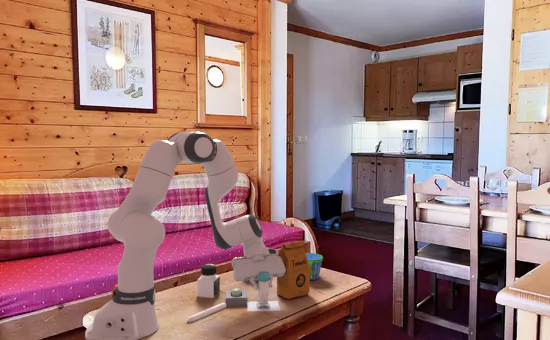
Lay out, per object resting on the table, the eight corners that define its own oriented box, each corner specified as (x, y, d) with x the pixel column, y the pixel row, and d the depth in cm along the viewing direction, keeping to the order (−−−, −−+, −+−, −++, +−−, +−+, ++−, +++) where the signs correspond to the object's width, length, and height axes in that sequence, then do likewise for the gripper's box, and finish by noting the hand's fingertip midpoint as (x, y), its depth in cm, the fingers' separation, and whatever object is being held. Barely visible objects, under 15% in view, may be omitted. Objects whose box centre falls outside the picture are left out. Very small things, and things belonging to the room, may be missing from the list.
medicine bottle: (214, 298, 165) (214, 268, 164) (196, 297, 166) (196, 267, 165) (220, 292, 172) (220, 263, 171) (203, 290, 173) (203, 262, 172)
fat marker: (258, 305, 156) (259, 275, 154) (257, 300, 160) (258, 271, 158) (268, 304, 156) (269, 275, 155) (267, 300, 160) (268, 271, 159)
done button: (231, 299, 160) (231, 291, 160) (231, 295, 164) (231, 288, 164) (241, 298, 161) (241, 291, 160) (240, 295, 164) (240, 288, 164)
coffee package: (312, 296, 169) (314, 242, 167) (287, 302, 162) (288, 246, 160) (298, 288, 177) (299, 237, 175) (273, 294, 171) (274, 240, 169)
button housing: (225, 305, 158) (225, 298, 158) (226, 297, 166) (226, 290, 166) (247, 305, 159) (247, 297, 159) (246, 297, 167) (246, 289, 166)
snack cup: (318, 285, 182) (319, 262, 181) (295, 282, 185) (295, 259, 184) (325, 274, 197) (325, 252, 196) (303, 271, 200) (303, 250, 199)
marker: (188, 325, 142) (188, 318, 142) (184, 323, 144) (184, 316, 143) (226, 308, 156) (226, 302, 156) (222, 307, 158) (222, 301, 157)
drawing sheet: (247, 311, 153) (247, 311, 153) (246, 302, 162) (246, 301, 162) (280, 311, 154) (280, 310, 154) (277, 301, 163) (277, 300, 163)
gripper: (231, 253, 159) (238, 287, 151) (281, 249, 166) (291, 281, 158) (228, 262, 164) (235, 295, 155) (277, 257, 171) (286, 289, 163)
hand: (263, 288), depth 157 cm, fingers closed on fat marker, 4 cm apart
